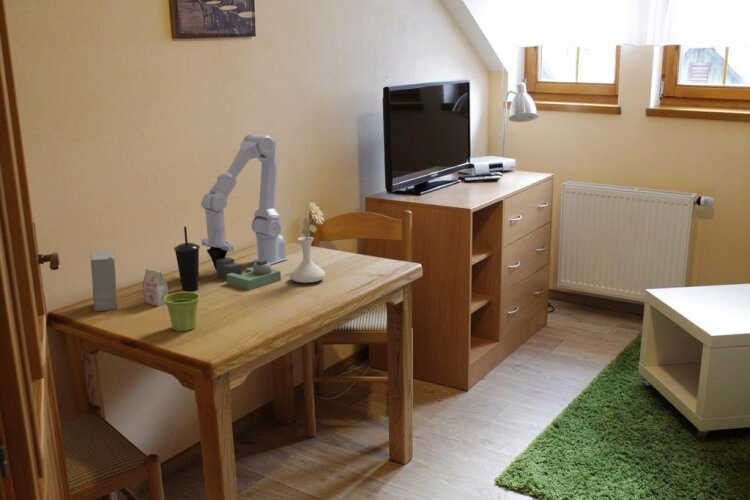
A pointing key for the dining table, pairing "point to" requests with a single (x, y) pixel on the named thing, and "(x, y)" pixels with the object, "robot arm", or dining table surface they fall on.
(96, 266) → the skincare box
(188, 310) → the plant pot
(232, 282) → the sage green base plate
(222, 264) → the notched gray block
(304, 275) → the flower in vase
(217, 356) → the dining table surface
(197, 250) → the drinking cup
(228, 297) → the dining table surface
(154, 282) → the white printed carton
